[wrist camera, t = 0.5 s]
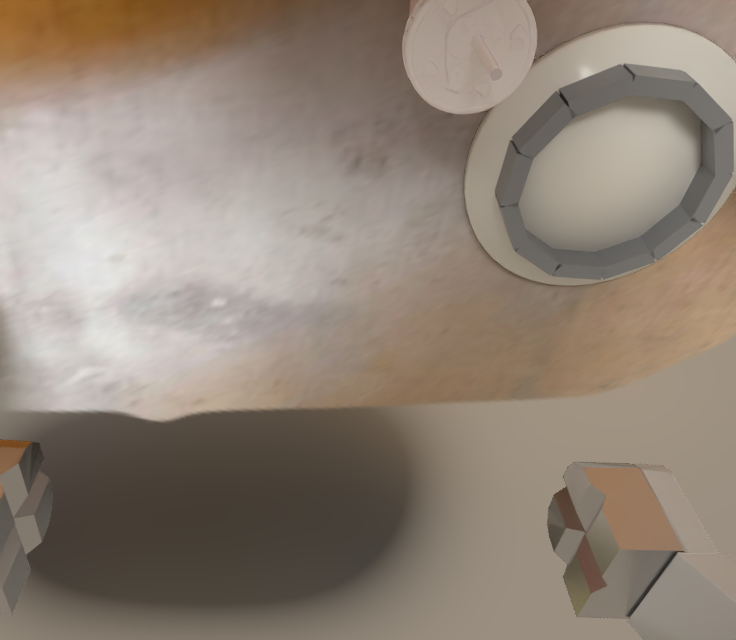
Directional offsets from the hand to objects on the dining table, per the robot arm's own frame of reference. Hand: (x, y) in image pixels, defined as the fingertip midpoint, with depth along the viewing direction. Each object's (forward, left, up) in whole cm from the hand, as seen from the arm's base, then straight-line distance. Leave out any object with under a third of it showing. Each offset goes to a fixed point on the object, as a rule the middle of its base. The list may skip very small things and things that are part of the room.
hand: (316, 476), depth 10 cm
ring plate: (+11, +21, -34) cm, 42 cm away
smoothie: (+1, +7, -34) cm, 35 cm away
